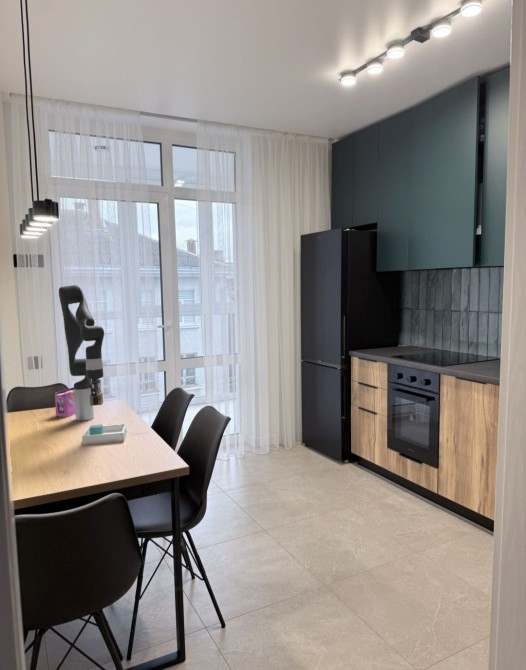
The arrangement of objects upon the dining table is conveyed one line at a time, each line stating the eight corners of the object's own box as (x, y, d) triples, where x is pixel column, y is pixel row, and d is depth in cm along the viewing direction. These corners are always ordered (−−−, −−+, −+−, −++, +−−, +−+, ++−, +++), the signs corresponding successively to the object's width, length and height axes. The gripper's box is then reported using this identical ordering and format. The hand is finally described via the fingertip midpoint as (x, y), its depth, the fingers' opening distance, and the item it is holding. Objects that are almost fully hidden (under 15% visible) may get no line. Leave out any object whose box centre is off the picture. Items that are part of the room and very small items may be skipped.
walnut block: (92, 403, 226) (91, 393, 226) (103, 402, 227) (102, 392, 227) (90, 405, 222) (89, 395, 221) (101, 404, 222) (100, 394, 222)
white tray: (88, 434, 229) (87, 426, 229) (126, 431, 232) (126, 423, 232) (82, 445, 213) (82, 436, 213) (123, 441, 217) (123, 432, 216)
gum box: (66, 417, 263) (64, 394, 262) (54, 417, 265) (52, 393, 264) (91, 407, 287) (89, 385, 285) (80, 407, 288) (78, 385, 287)
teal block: (91, 435, 224) (91, 425, 224) (102, 434, 225) (102, 424, 224) (90, 438, 219) (89, 428, 219) (101, 437, 220) (100, 427, 220)
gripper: (89, 366, 230) (91, 401, 231) (83, 370, 216) (85, 407, 217) (105, 365, 231) (107, 399, 232) (100, 369, 217) (102, 406, 218)
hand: (96, 403), depth 224 cm, fingers closed on walnut block, 5 cm apart
